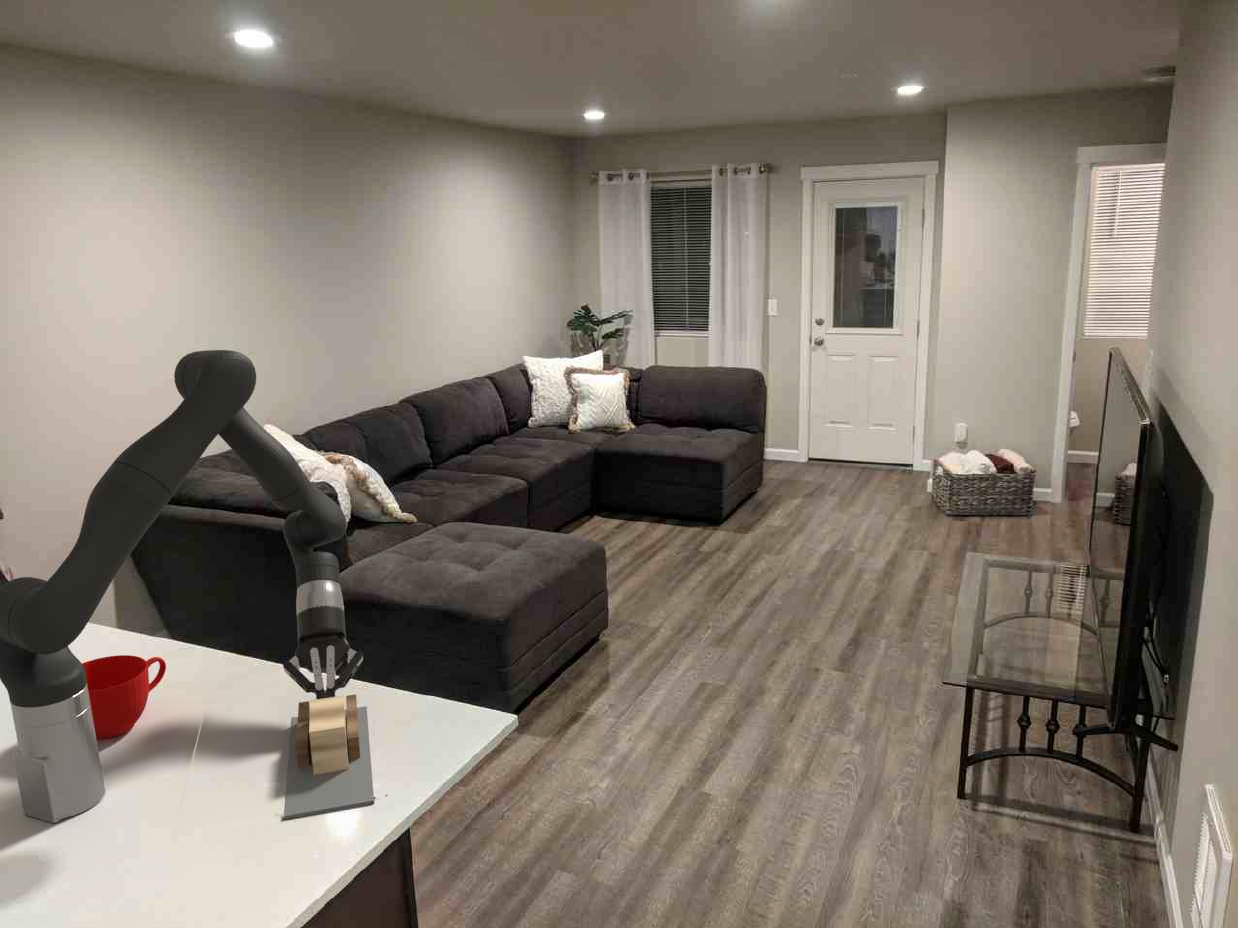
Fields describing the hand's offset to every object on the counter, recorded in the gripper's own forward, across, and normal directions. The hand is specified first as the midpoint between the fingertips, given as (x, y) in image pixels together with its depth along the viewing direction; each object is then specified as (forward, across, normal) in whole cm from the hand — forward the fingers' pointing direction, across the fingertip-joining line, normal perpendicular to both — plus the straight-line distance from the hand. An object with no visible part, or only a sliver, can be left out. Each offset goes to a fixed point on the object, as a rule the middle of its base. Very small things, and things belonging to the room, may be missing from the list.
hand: (327, 714), depth 148 cm
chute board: (+7, 0, -1) cm, 7 cm away
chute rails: (+4, 0, +2) cm, 4 cm away
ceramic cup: (-8, -33, +14) cm, 37 cm away
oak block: (+7, 0, -1) cm, 7 cm away
